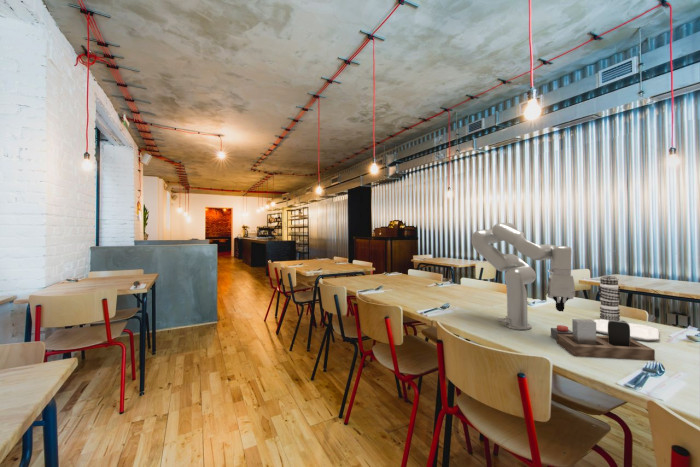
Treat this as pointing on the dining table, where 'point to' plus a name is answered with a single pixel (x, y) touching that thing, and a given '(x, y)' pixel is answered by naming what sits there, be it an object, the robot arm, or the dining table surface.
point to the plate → (631, 330)
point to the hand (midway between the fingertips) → (559, 310)
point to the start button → (562, 328)
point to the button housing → (559, 332)
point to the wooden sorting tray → (599, 344)
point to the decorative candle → (609, 298)
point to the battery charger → (618, 333)
